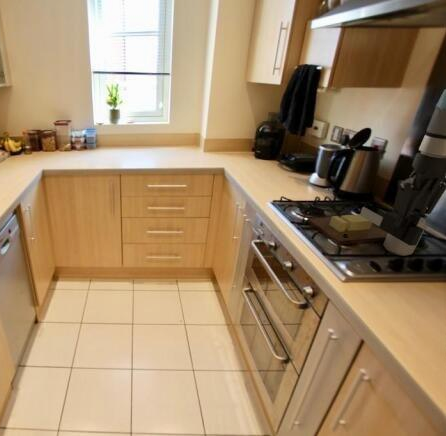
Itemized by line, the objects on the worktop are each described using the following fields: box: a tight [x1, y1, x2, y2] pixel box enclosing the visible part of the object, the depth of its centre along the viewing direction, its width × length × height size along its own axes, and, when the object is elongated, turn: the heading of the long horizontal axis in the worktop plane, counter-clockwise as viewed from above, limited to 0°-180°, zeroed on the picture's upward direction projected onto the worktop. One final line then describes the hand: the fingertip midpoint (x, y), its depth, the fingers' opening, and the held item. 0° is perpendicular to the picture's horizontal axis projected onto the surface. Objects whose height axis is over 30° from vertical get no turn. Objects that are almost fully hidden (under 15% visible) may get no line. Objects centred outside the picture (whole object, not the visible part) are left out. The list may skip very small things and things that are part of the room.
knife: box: [359, 206, 425, 246], centre depth 91 cm, size 18×2×5 cm, turn 7°
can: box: [382, 217, 427, 257], centre depth 98 cm, size 8×8×12 cm
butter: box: [340, 213, 373, 231], centre depth 111 cm, size 5×8×4 cm, turn 96°
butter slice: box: [329, 215, 348, 232], centre depth 111 cm, size 5×2×4 cm, turn 6°
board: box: [306, 215, 388, 246], centre depth 112 cm, size 16×20×2 cm
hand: (400, 236), depth 88 cm, fingers closed on knife, 2 cm apart
